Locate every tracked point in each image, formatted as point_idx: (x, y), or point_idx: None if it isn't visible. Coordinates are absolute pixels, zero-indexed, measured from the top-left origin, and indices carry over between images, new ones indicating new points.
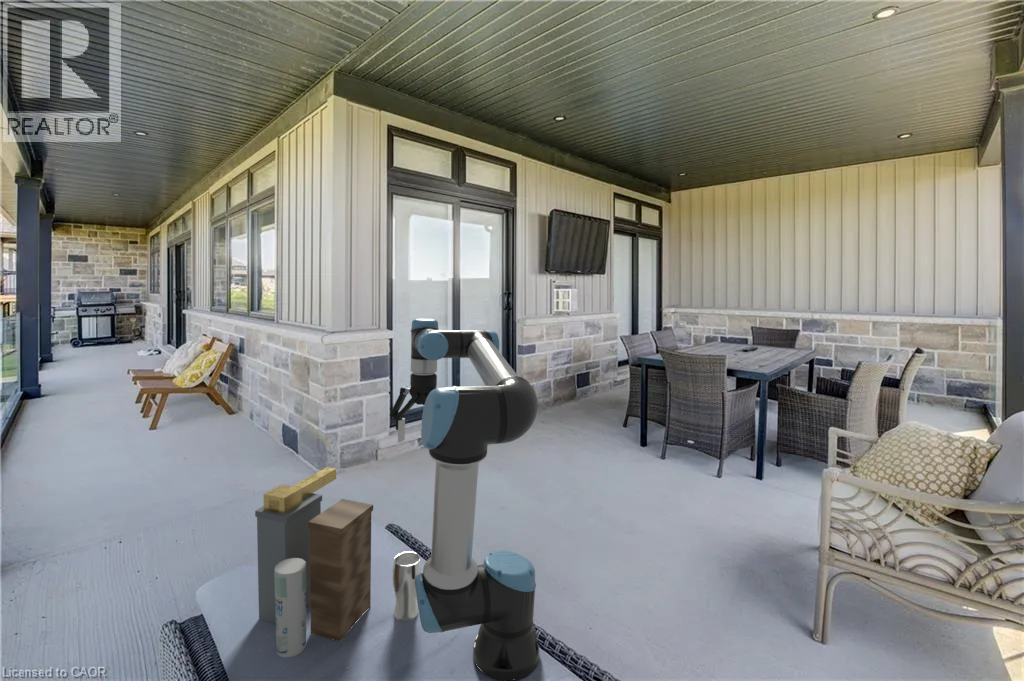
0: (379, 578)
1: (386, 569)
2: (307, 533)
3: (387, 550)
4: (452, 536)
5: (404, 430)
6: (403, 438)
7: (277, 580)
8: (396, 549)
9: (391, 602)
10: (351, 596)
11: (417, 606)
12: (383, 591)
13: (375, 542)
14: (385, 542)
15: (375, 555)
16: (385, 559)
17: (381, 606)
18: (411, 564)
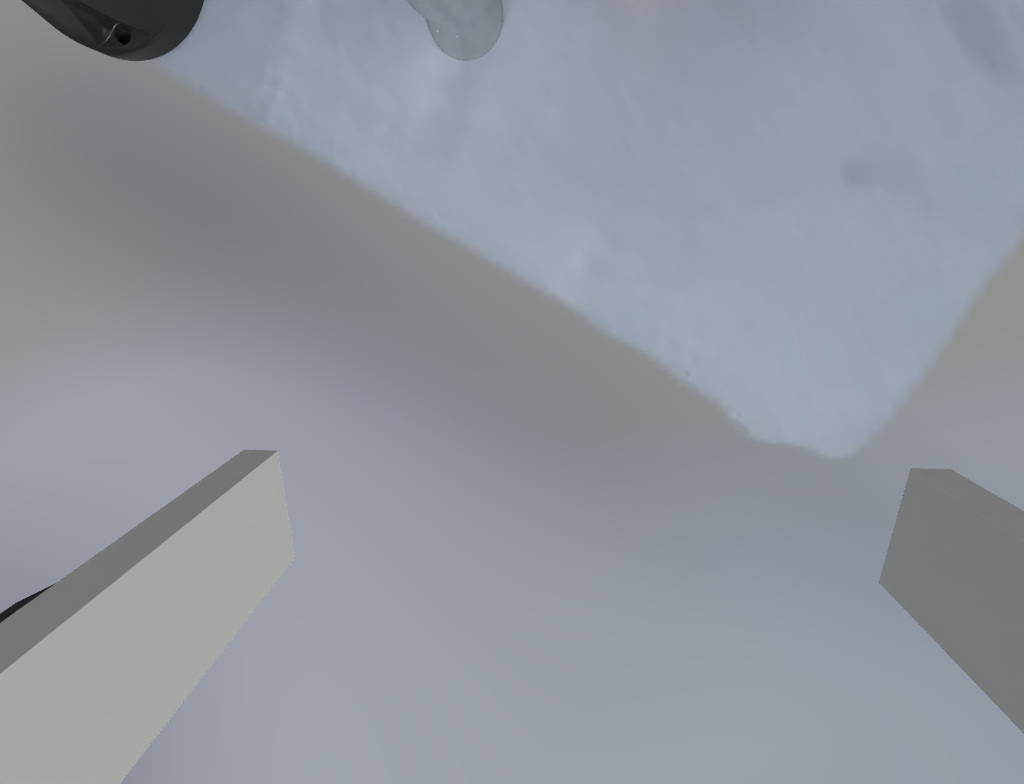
0: (635, 163)
1: (636, 219)
2: None
3: (682, 323)
4: None
5: (1004, 697)
6: (907, 569)
7: None
8: (656, 338)
9: (537, 54)
10: None
11: (430, 26)
12: (589, 100)
13: (744, 353)
14: (710, 364)
15: (708, 281)
16: (665, 272)
17: (557, 20)
18: (445, 1)
